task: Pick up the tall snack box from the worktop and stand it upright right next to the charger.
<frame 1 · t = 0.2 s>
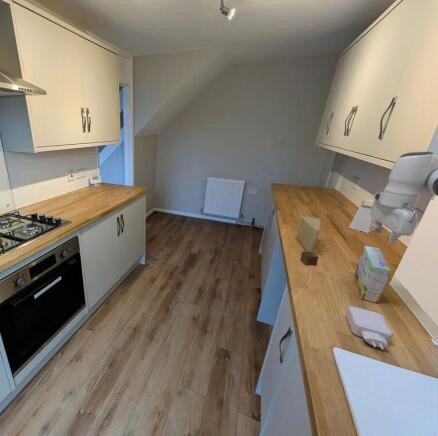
hand: (383, 237, 86), 26 cm above the counter, tool pointing down, fingers open, 8 cm apart
walnut block: (307, 262, 119), on the counter
cheese: (307, 247, 135), on the counter
charger: (367, 336, 77), on the counter
snack box: (364, 288, 100), on the counter
grater: (360, 229, 161), on the counter
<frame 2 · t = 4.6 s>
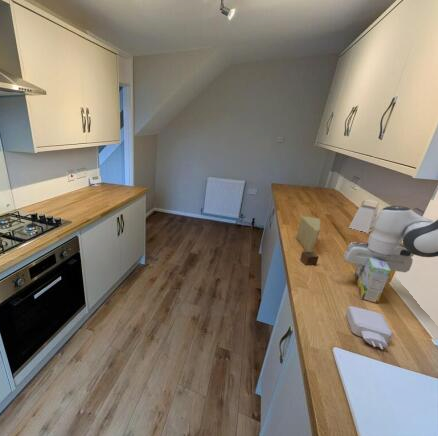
hand: (369, 275, 98), 6 cm above the counter, tool pointing down, fingers closed on snack box, 6 cm apart
snack box: (364, 288, 100), on the counter, touching gripper
everything else where it was.
when the fingers open (6 cm above the counter, at t = 11.7 s): snack box stays where it is, on the counter.
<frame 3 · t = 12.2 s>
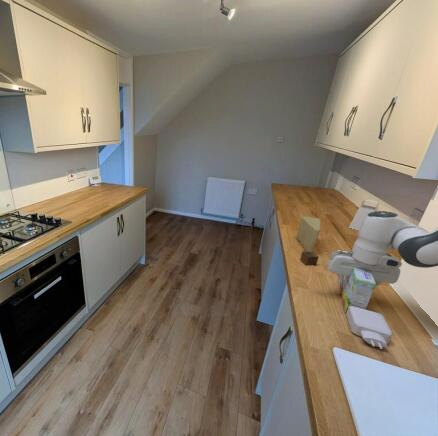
hand: (354, 286, 90), 6 cm above the counter, tool pointing down, fingers open, 8 cm apart
snack box: (349, 300, 93), on the counter
everything else where it was.
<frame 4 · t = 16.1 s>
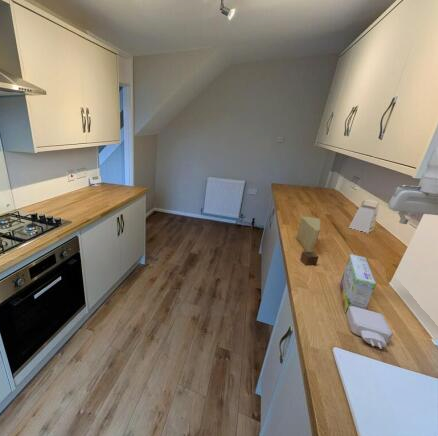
hand: (419, 225, 84), 31 cm above the counter, tool pointing down, fingers open, 8 cm apart
nothing on the counter moved.
at the end: snack box 18.9 cm from the charger (horizontally); snack box moved 15.0 cm from its start; snack box tilted 0° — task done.
